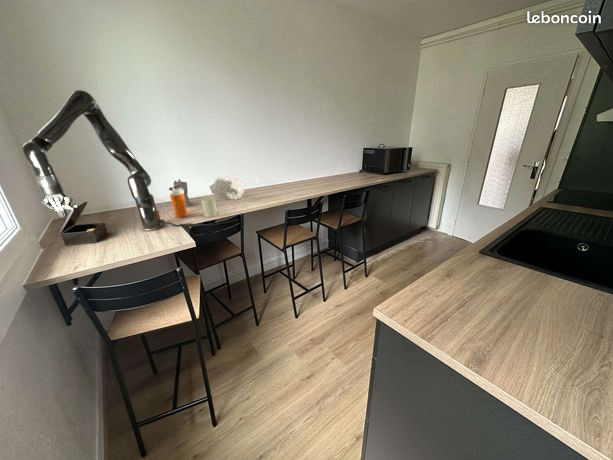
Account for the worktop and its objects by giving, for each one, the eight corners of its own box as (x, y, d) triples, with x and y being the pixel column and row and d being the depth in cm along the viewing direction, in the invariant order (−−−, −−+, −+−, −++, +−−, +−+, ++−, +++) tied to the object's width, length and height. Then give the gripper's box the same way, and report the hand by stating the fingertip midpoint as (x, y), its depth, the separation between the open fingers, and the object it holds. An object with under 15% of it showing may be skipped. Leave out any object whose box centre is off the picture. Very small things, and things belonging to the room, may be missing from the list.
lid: (87, 202, 136) (78, 197, 134) (74, 209, 125) (63, 204, 123) (75, 224, 139) (65, 220, 137) (60, 233, 128) (50, 229, 126)
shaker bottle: (191, 214, 172) (185, 186, 164) (180, 218, 165) (174, 189, 157) (182, 212, 176) (176, 184, 168) (171, 217, 168) (164, 187, 160)
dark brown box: (108, 233, 145) (104, 222, 142) (97, 242, 134) (93, 231, 131) (79, 235, 142) (74, 224, 139) (65, 245, 131) (60, 234, 128)
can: (200, 214, 172) (197, 197, 167) (213, 211, 178) (210, 195, 173) (207, 218, 166) (204, 200, 161) (220, 214, 172) (217, 197, 167)
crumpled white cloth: (223, 199, 218) (244, 202, 206) (206, 195, 203) (228, 198, 191) (227, 178, 218) (248, 180, 206) (210, 173, 203) (232, 174, 191)
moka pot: (184, 208, 183) (178, 181, 175) (172, 205, 191) (165, 179, 183) (195, 205, 191) (190, 179, 183) (183, 202, 198) (177, 177, 190)
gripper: (27, 186, 119) (43, 220, 126) (60, 185, 122) (74, 218, 129) (39, 183, 126) (53, 215, 133) (70, 181, 129) (82, 213, 136)
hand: (64, 216), depth 131 cm, fingers closed
